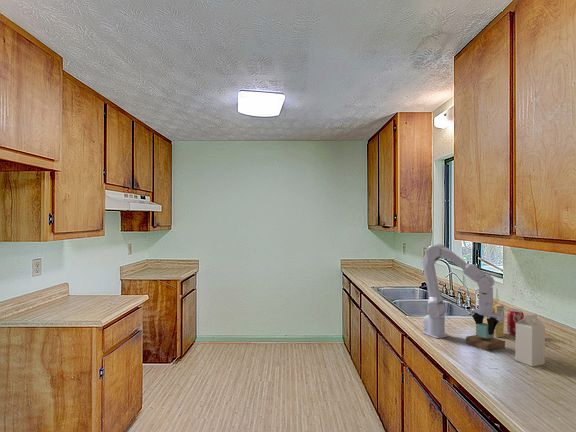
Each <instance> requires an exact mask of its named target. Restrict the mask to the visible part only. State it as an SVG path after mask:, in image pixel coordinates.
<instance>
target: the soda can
mask: <svg viewBox="0 0 576 432" xmlns="http://www.w3.org/2000/svg"><path fill="white" fill-rule="evenodd" d="M506 315H507V316H506V320H507V321H506V327H507V328H506V329H507V333H508V334H509V335H511V336H514V335H515V337H516V323H517V322H519V321H520V320H522V319H523V318H524V312H523V310H522V309H517V308H509V309H508V311H507V314H506Z"/></svg>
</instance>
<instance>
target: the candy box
mask: <svg viewBox="0 0 576 432" xmlns="http://www.w3.org/2000/svg"><path fill="white" fill-rule="evenodd" d="M493 313H496V314H498V315H501V316H502V320H500V321H499V322H498V323H497V325H496V327H495V330H494V338H504V327H505V325H504V324H505V305H503V304H500V303H497V302H494V301H493ZM484 318H485V321H484V323H486V324H488V322H487V319H489V317H486V316H484Z"/></svg>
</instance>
